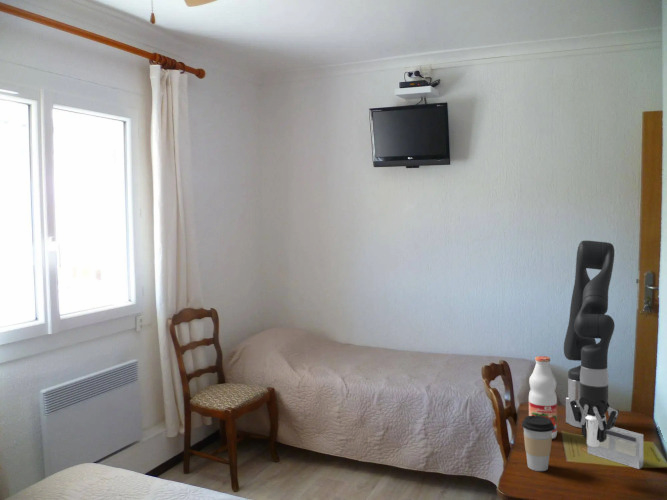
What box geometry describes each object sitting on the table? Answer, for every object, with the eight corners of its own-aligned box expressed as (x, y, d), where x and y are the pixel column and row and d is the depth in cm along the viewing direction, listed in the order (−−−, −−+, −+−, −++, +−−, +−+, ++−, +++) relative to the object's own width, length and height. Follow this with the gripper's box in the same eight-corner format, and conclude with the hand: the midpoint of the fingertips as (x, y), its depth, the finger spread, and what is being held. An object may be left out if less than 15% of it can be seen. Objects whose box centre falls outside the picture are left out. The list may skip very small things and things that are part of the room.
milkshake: (606, 448, 162) (607, 415, 161) (586, 447, 163) (587, 413, 162) (601, 442, 167) (603, 409, 166) (582, 440, 168) (583, 408, 167)
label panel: (587, 453, 184) (587, 423, 183) (592, 450, 186) (592, 420, 185) (638, 469, 171) (638, 437, 171) (643, 466, 173) (643, 434, 173)
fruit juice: (552, 430, 204) (552, 354, 203) (560, 440, 195) (560, 360, 193) (525, 429, 205) (525, 354, 204) (532, 439, 196) (532, 360, 194)
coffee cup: (530, 458, 181) (530, 412, 180) (559, 467, 174) (559, 419, 173) (516, 467, 174) (516, 420, 173) (545, 477, 167) (545, 427, 167)
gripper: (624, 384, 161) (624, 442, 162) (576, 374, 172) (576, 429, 173) (612, 389, 156) (612, 450, 157) (564, 379, 167) (564, 435, 168)
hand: (593, 438), depth 165 cm, fingers closed on milkshake, 4 cm apart
